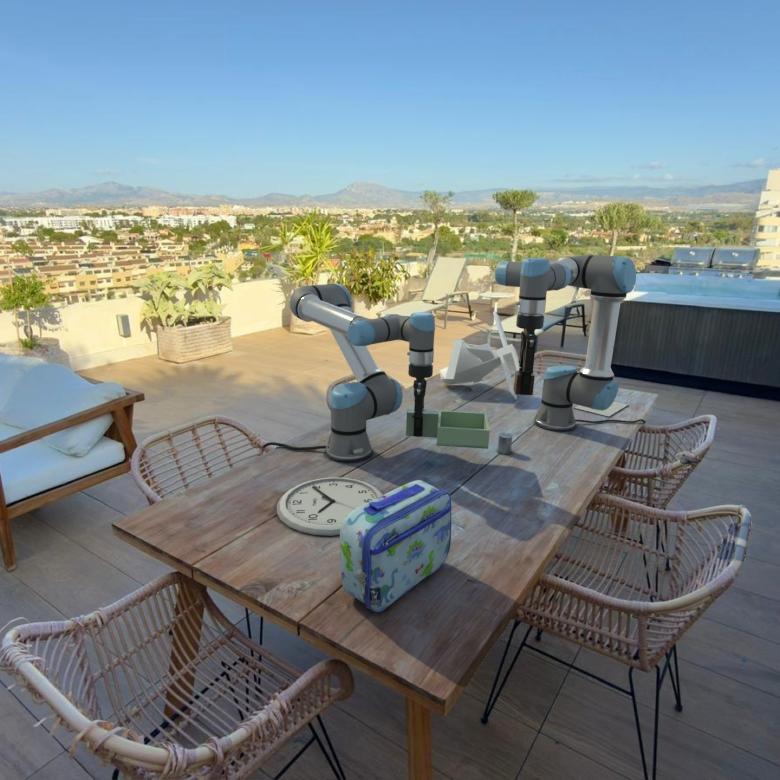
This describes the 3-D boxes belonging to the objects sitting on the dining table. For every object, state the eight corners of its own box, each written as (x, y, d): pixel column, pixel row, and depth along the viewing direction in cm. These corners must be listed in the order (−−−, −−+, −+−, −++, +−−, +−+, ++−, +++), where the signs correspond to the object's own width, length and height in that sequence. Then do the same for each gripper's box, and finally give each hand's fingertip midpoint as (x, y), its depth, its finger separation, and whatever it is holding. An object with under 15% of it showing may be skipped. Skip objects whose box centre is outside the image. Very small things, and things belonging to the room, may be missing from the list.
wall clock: (392, 527, 129) (268, 531, 127) (391, 533, 130) (269, 537, 127) (383, 473, 158) (282, 475, 155) (383, 478, 158) (282, 480, 156)
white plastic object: (461, 429, 252) (437, 405, 227) (444, 352, 274) (420, 323, 250) (535, 404, 240) (518, 377, 215) (510, 326, 262) (492, 293, 237)
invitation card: (608, 416, 214) (573, 407, 224) (608, 416, 214) (573, 408, 224) (628, 404, 229) (594, 396, 238) (628, 405, 229) (594, 397, 238)
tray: (485, 430, 173) (487, 407, 171) (488, 448, 158) (490, 424, 156) (408, 425, 176) (409, 403, 174) (404, 443, 161) (404, 419, 159)
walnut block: (530, 390, 158) (532, 371, 156) (532, 395, 153) (534, 375, 151) (513, 389, 158) (515, 370, 157) (515, 394, 154) (517, 375, 152)
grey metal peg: (510, 449, 181) (511, 433, 179) (511, 454, 177) (512, 438, 175) (497, 448, 181) (498, 432, 180) (498, 453, 177) (499, 437, 175)
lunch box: (369, 626, 100) (370, 530, 93) (334, 598, 107) (332, 507, 101) (455, 567, 117) (460, 483, 111) (419, 547, 124) (423, 467, 118)
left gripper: (410, 356, 169) (408, 424, 176) (406, 369, 154) (404, 443, 161) (434, 357, 168) (431, 425, 175) (431, 370, 153) (428, 444, 160)
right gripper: (514, 308, 158) (507, 382, 165) (521, 318, 141) (513, 400, 148) (539, 309, 157) (531, 383, 164) (549, 319, 140) (540, 402, 147)
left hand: (418, 433), depth 168 cm, fingers closed on tray, 3 cm apart
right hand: (523, 391), depth 156 cm, fingers closed on walnut block, 5 cm apart
